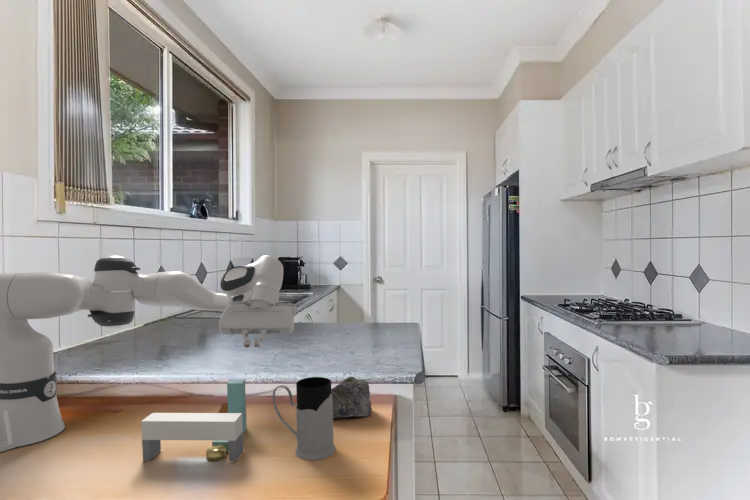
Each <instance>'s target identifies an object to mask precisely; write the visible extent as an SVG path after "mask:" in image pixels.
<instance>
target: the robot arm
mask: <svg viewBox="0 0 750 500" xmlns="http://www.w3.org/2000/svg"><path fill="white" fill-rule="evenodd" d="M93 271H94V279H93V282H91V281H90V279H87V278H86V277H84V276H83V277H82V276H81V275H75V274H66V273H62V272H61V273H59V272H52V271H51V272H50V271H47V272H46V271H43V272H41V271H40V272H39V271H38V272H8V273H0V453H1V452H5V451H8V450H9V451H10V450H11V449H15V448H19V447H23V446H28V445H32V444H35V443H39V442H42V441H45V440H48V439H50V438H52V437H54V436H56V435H58V434H60V433H61V432H63V430H65V427H66V425H65V423H64V420H63V417H62V413H61V411H60V407H59V401H58V398H57V397H58V396H57V389H58V377H57V371H56V370H55V364H54V345H53V343H52V340H51V339H50V338H49V337H48V336H47V335H45V334H43V333H41V332H37V330H36V329H34V328H33V327H32V326H31V324H30V323H29V320H41V319H45V320H46V319H53V318H58V317H59V318H60V317H64V316H68V315H72V314H73V313H76V312H80V311H87V310H88V311H89V313H90V314H87V317H88V318H91V319H92V320H93V321H94V323H96V324H97V325H98V326H100V327H104V328H108V329H119V328H122V327H125V326H127V325H130V324H131V323H132V322H133V320H134V318H135V317H134V316H135V312H136V311H135V310H134V309H135V300H136V302H138V303H140V304H142V305H146V306H152V307H161V308H162V307H168V308H169V307H171V308H172V307H173V308H174V307H175V308H184V309H191V310H195V311H200V312H204V313H214V314H215V313H217V314H221V315H220V319H219V321H218V328H219V330H220V332H221V333H222V334H223V335H242V337H243V347H244V348H251V346H252V341H251V338H250V335H259V337H258V338H254V343H253V346H254V348H261V347H262V343H263V342H264V341H265V340H266V339H267V338H268V335H291V334H292V333H293V332H294V328H295V316H296V315H297V313H298V312H297V310H298V307H297V306H296V305H295V304H294V303H292V302H287V303H283V302H279V299H280V290H281V289H282V285H283V281H284V265H283V264H282V262H281V261H280V260H279V259H278V258H277V257H275V256H273V255H268V254H267V255H261V256H260V257H259V258H258V259H256V260H254V262H252V263H249V264H246V265H238V266H233V267H230V268H229V269H227V270H226V271H225V272H224V273H223V275H222V277H221V279H220V283H219V285H220V289H221V290H222V291H223V293H219V292H215V291H213V290H211V289H209V288H207V287H206V286H204V285H203V284H202V283H201V282H199V281H198V280H197V279H195V277H193V276H192V275H191V274H189V273H187V272H182V271H178V270H169V271H159V272H152V273H147V274H140V273H138V272H137V271H141V267H137V265H136V263H135V262H133V260H131V259H130V258H128V257H124V256H121V255H115V254H113V255H106V256H105V257H104V256H103V258H101V257H100V258H99V259H97V261H96V262H95V265H94V269H93Z"/></svg>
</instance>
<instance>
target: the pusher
mask: <svg viewBox="0 0 750 500" xmlns="http://www.w3.org/2000/svg"><path fill="white" fill-rule="evenodd" d="M226 389H227V391H226V392H227V393H226V396H227V402H228V413H242V423H243V435H245V432H246V431H247V429H248V427H247V403H246V402H247V400H246V397H247V396H246V379H230V380H229V381H228V382H227V383H226ZM211 441H212V442H211V447H213V446H217V445H222V446H225V447H226V452H229V445H228V441H221V440H211Z"/></svg>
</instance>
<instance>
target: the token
mask: <svg viewBox="0 0 750 500" xmlns="http://www.w3.org/2000/svg"><path fill="white" fill-rule="evenodd" d="M205 452H206V453H205V454H206V455H205V456H206V457H205V458H206V461H208V462H212V463H213V462H215V461H216V462H220V461H222V459H223V460H225V459H226V457H227V451H226V447H225V446H222V445H217V446H213V447H212V446H210V447H208V448H207V449H206V451H205ZM219 460H220V461H219Z"/></svg>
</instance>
